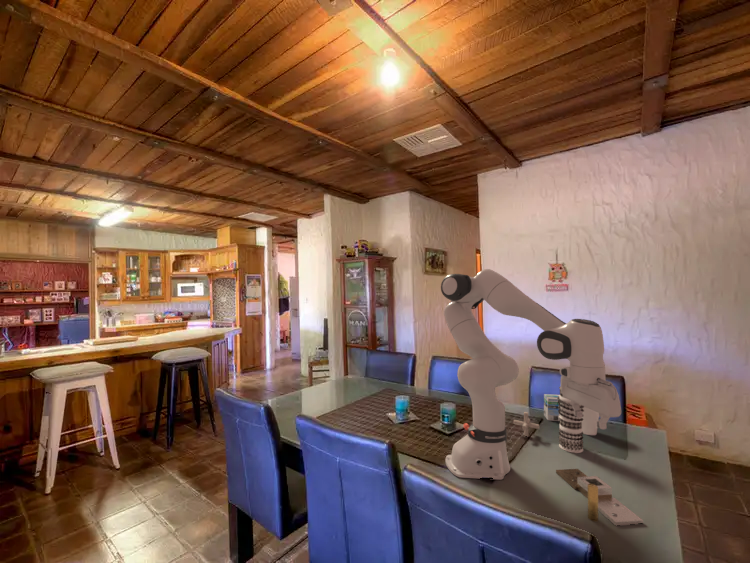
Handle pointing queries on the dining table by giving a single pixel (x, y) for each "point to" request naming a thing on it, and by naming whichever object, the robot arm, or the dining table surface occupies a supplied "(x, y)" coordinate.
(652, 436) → the dining table surface
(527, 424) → the pipe connector
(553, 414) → the light bulb box
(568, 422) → the decorative candle
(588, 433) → the foam cup
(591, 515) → the brass pin
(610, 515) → the hinge
